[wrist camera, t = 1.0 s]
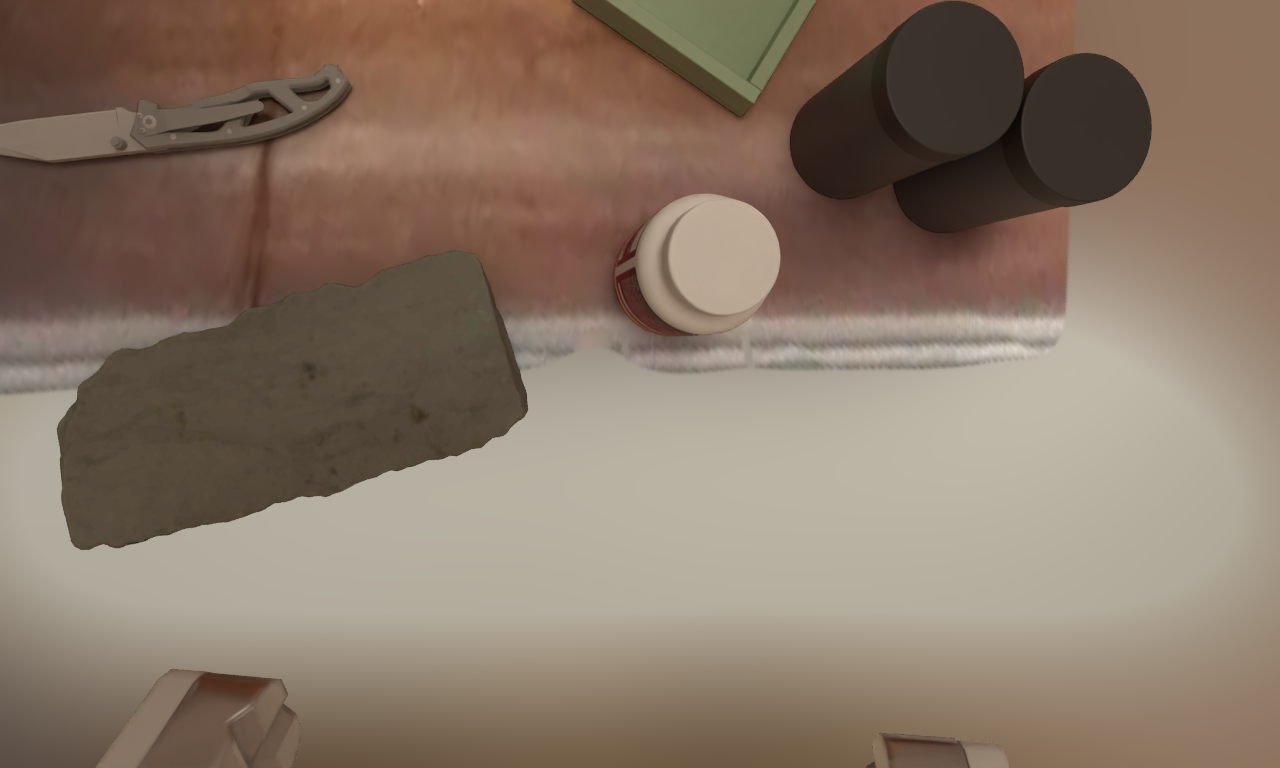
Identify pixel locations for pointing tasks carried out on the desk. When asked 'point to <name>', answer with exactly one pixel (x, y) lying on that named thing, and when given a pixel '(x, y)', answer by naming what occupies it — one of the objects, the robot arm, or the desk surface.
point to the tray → (710, 39)
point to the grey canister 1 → (911, 102)
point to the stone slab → (289, 403)
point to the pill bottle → (698, 266)
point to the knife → (174, 122)
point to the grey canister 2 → (1043, 151)
